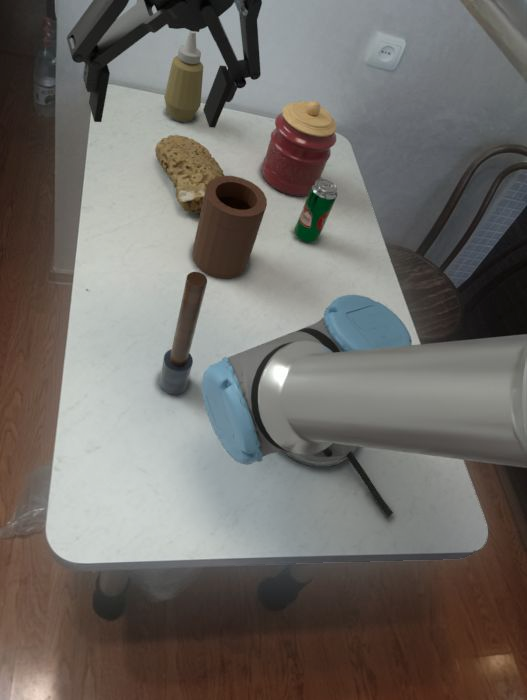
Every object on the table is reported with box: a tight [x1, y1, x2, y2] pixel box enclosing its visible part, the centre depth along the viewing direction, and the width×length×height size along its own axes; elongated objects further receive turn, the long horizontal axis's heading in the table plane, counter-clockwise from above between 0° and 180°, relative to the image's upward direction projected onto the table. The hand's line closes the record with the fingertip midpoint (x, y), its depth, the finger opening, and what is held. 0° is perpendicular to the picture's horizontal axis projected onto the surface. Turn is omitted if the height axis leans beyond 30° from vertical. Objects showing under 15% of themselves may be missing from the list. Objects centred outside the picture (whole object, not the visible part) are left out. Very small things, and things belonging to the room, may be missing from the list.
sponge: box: [154, 134, 225, 214], centre depth 104 cm, size 13×8×20 cm
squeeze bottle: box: [163, 30, 204, 123], centre depth 115 cm, size 8×8×18 cm
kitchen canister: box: [261, 100, 338, 197], centre depth 111 cm, size 13×13×18 cm
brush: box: [158, 271, 208, 395], centre depth 70 cm, size 4×4×22 cm
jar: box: [191, 175, 268, 279], centre depth 92 cm, size 10×10×14 cm
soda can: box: [293, 178, 338, 244], centre depth 103 cm, size 5×5×12 cm
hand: (154, 116), depth 62 cm, fingers open, 13 cm apart
